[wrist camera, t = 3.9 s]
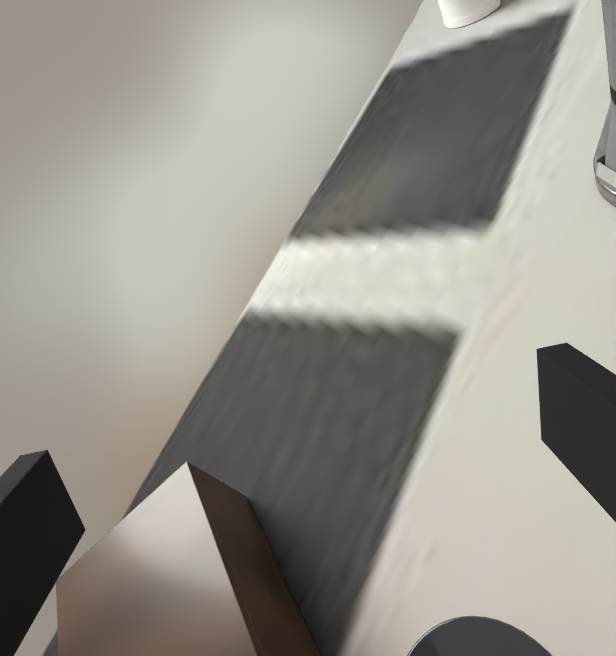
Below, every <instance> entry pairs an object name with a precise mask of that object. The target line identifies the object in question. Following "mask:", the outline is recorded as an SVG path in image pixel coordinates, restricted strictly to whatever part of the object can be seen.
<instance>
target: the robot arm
mask: <svg viewBox="0 0 616 656" xmlns="http://www.w3.org/2000/svg"><path fill="white" fill-rule="evenodd" d="M602 9H603V20H604V30H605V40H606V51H607V61H608V72H609V82H610V93H611V103H610V106H609V109H608V113H607V116H606V119H605V123H604V126H603V130H602V133H601V136H600V140H599V143H598V146H597V149H596V153H595V157H594V172H595V180H596V185H597V188H598V190H599V192H600V194H601V195H602V196H603V198H604V199H605V200H607V201H608V202H609V203H610V204H612V205H613V206H615V207H616V0H602ZM537 364H538V383H539V402H540V421H541V440H542V441H543V442H544V443H545V444H546V445H547V446H548V447H549V449H550V450H551V451H552V452H553V453H554V454H555V455H556V456H557V457H558V459H559V460H560V461H561V462H562V463H563V464H564V465H565V466H566V467H567V469H568V470H569V471H570V472H571V473H572V474H573V475H574V476H575V477H576V479H577V480H578V481H579V482H580V483H581V484H582V485H583V486H584V487H585V489H586V490H587V491H588V492H589V493H590V494H591V495H592V496H593V497H594V499H595V500H596V501H597V502H598V503H599V504H600V505H601V506H602V507H603V509H604V510H605V511H606V512H607V513H608V514H609V515H610V516H611V517H612V519H613V520H614V521H615V522H616V375H615V374H614V373H612V372H611V371H609V370H608V369H606V368H605V367H603V366H601V365H600V364H598V363H597V362H595V361H594V360H592V359H591V358H589V357H588V356H586V355H585V354H583V353H582V352H580V351H579V350H577V349H575V348H574V347H572V346H571V345H569V344H568V343H563V344H558V345H553V346H549V347H544V348H539V349H537ZM84 532H85V528H84V526H83V524H82V521H81V519H80V517H79V515H78V513H77V511H76V509H75V507H74V505H73V502H72V500H71V498H70V496H69V494H68V492H67V490H66V488H65V486H64V484H63V481H62V479H61V477H60V475H59V473H58V471H57V469H56V467H55V465H54V462H53V460H52V458H51V456H50V454H49V452H48V450H45V451H40V452H35V453H30V454H25V455H20V456H19V458H18V459H17V460H16V461H15V462H14V463H13V464H12V465H11V466H10V467H9V468H8V469H7V470H6V471H5V472H4V474H3V475H2V476H1V477H0V656H14V654H15V653H16V651H17V649H18V647H19V646H20V644H21V642H22V640H23V639H24V636H25V635H26V633H27V632H28V630H29V628H30V626H31V624H32V623H33V621H34V619H35V617H36V616H37V614H38V612H39V610H40V609H41V607H42V605H43V603H44V602H45V600H46V598H47V596H48V594H49V593H50V591H51V589H52V588H53V586H54V584H55V582H56V581H57V579H58V577H59V575H60V574H61V572H62V570H63V568H64V567H65V565H66V563H67V561H68V560H69V558H70V556H71V554H72V553H73V551H74V549H75V547H76V546H77V544H78V542H79V540H80V539H81V537H82V535H83V533H84Z"/></svg>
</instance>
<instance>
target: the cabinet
mask: <svg viewBox="0 0 616 656" xmlns="http://www.w3.org/2000/svg"><path fill="white" fill-rule="evenodd" d="M56 596H57V622H58V623H57V624H58V651H59V656H321V655H320V653H319V651H318V649H317V647H316V645H315V642H314V640H313V638H312V636H311V634H310V632H309V630H308V627H307V625H306V623H305V621H304V619H303V617H302V615H301V612H300V610H299V608H298V606H297V604H296V602H295V600H294V597H293V595H292V593H291V591H290V589H289V587H288V585H287V583H286V580H285V578H284V576H283V574H282V572H281V570H280V568H279V565H278V563H277V561H276V559H275V557H274V555H273V553H272V550H271V548H270V546H269V544H268V542H267V540H266V538H265V535H264V533H263V531H262V529H261V527H260V525H259V523H258V520H257V518H256V516H255V514H254V512H253V510H252V508H251V506H250V503H249V501H248V499H247V497H246V496H244V495H243V494H241V493H239V492H238V491H236V490H234V489H233V488H231V487H229V486H228V485H226V484H224V483H223V482H221V481H219V480H217V479H216V478H214V477H212V476H211V475H209V474H207V473H206V472H204V471H202V470H200V469H199V468H197V467H195V466H194V465H192V464H190V463H188V462H185V463H184V464H183V465H182V466H181V467H180V468H179V469H178V470H177V471H176V472H174V473H173V474H172V475H171V476H170V477H169V478H168V479H167V480H166V481H165V482H163V483H162V484H161V485H160V486H159V487H158V488H157V489H156V490H155V491H154V492H152V493H151V494H150V495H149V496H148V497H147V498H146V499H145V500H144V501H142V502H141V503H140V504H139V505H138V506H137V507H136V508H135V509H134V510H133V511H131V512H130V513H129V514H128V515H127V516H126V517H125V518H124V519H123V520H122V521H120V522H119V523H118V524H117V525H116V526H115V527H114V528H113V529H112V530H111V531H109V532H108V534H106V535H105V536H104V537H103V538H102V539H101V540H100V541H99V542H97V543H96V544H95V545H94V546H93V547H92V548H91V549H90V550H89V551H88V552H86V554H84V555H83V556H82V557H81V558H80V559H79V560H78V561H76V562H75V563H74V564H73V565H72V566H71V567H70V568H69V569H68V570H67V571H65V573H64V574H62V575H61V576H60V577H59V578H58V579H57V581H56Z"/></svg>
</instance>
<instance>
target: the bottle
mask: <svg viewBox="0 0 616 656" xmlns="http://www.w3.org/2000/svg"><path fill="white" fill-rule="evenodd" d="M407 656H555V655H554V654H552V653H551V652H550V651H549V650H547V649H546V648H545V647H544V646H542V645H541V644H540V643H539V642H537V641H536V640H535V639H533V638H532V637H530V636H529V635H527V634H526V633H525V632H523V631H521V630H519V629H517V628H516V627H514V626H512V625H510V624H507V623H505V622H502V621H499V620H496V619H492V618H488V617H480V616H462V617H458V618H453V619H450V620H447V621H444V622H442V623H440V624H438V625H436V626H435V627H433V628H431V629H430V630H429V631H428V632H426V633H425V634H424V635H423V636H422V637H421V638H420V639H419V640H418V641H417V642H416V643H415V645H414V646H413V648H412V649H411V651H410V652H409V654H408V655H407Z"/></svg>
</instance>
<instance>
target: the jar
mask: <svg viewBox="0 0 616 656" xmlns="http://www.w3.org/2000/svg"><path fill="white" fill-rule="evenodd" d="M500 1H501V0H438V3H439V6H440V9H441V12H442V15H443V21H444V24H445V26H446V27H447V28H459V27H463V26H466V25H469V24H471V23H474V22H476V21H478V20H480V19H482V18H484V17H485V16H487V15H489V14H490V13H492V12H493V11H495V10H496V9H497V8H498V7H499V6H500Z"/></svg>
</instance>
